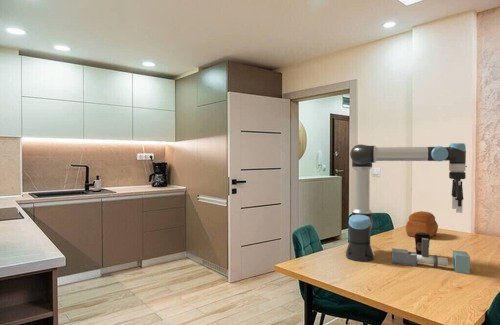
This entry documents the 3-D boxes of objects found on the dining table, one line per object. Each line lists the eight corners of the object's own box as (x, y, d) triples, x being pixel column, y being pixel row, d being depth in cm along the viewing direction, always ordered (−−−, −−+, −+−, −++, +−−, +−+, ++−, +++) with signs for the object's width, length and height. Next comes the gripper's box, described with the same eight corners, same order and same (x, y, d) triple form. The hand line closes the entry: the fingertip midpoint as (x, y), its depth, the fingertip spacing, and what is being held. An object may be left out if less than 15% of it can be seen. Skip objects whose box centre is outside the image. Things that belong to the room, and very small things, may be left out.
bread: (439, 234, 236) (439, 211, 236) (430, 240, 221) (430, 215, 221) (413, 231, 249) (413, 209, 248) (403, 236, 233) (403, 212, 233)
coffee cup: (432, 258, 182) (433, 235, 182) (417, 257, 183) (417, 234, 183) (427, 253, 190) (427, 231, 190) (412, 253, 192) (412, 231, 192)
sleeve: (391, 263, 173) (391, 251, 173) (392, 260, 179) (392, 248, 179) (416, 266, 168) (417, 254, 168) (416, 262, 174) (416, 250, 174)
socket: (455, 272, 160) (455, 255, 160) (452, 266, 168) (452, 250, 168) (469, 273, 158) (470, 256, 157) (466, 268, 166) (466, 251, 166)
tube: (393, 262, 173) (394, 237, 173) (393, 259, 178) (394, 234, 178) (448, 269, 163) (448, 242, 163) (446, 265, 168) (446, 239, 168)
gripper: (470, 172, 162) (469, 214, 162) (461, 170, 185) (460, 207, 185) (452, 172, 165) (452, 213, 166) (446, 170, 188) (445, 206, 188)
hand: (457, 210), depth 175 cm, fingers open, 13 cm apart
